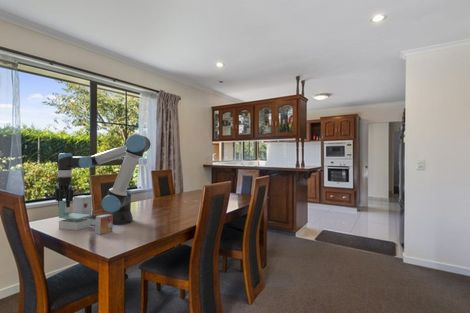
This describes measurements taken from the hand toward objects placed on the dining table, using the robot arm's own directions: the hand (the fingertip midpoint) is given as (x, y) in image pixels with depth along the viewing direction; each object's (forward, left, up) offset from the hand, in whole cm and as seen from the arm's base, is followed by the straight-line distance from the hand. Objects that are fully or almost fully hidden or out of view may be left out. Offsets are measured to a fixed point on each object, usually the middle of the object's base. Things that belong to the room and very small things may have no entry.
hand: (63, 211), depth 160 cm
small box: (-33, +2, -10) cm, 35 cm away
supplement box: (+13, -28, -10) cm, 32 cm away
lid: (-7, 0, -3) cm, 8 cm away
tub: (-9, 0, -10) cm, 13 cm away
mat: (-9, -14, -10) cm, 19 cm away
